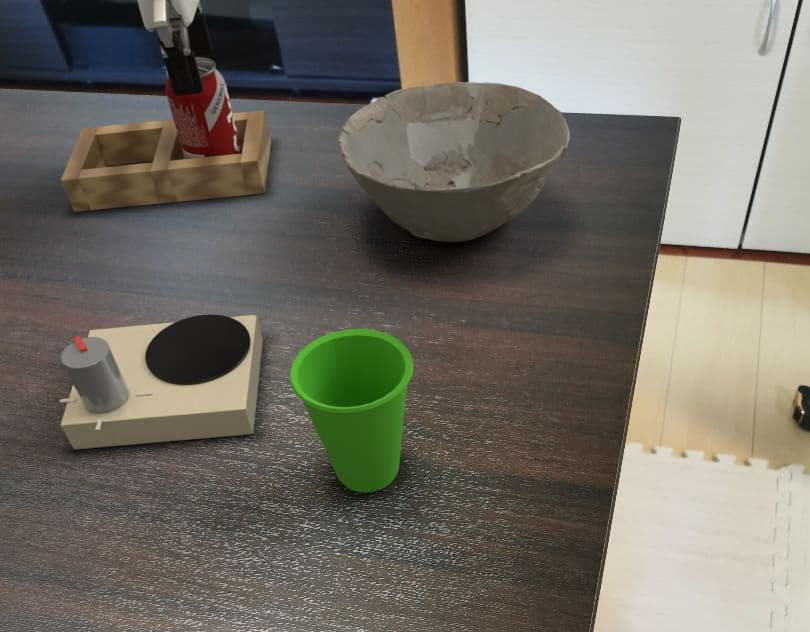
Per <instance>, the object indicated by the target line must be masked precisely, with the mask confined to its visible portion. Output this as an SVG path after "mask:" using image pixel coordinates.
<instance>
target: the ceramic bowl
mask: <svg viewBox="0 0 810 632" xmlns="http://www.w3.org/2000/svg"><path fill="white" fill-rule="evenodd" d="M570 134H571V133H570V128H569V125H568V123H567V121H566V119H565V116H564V115H563V113H562V112H561V111H560V110H559V109H558V108H557V107H555V106H554V105H553V104H552V103H551V102H549V101H548V100H546V99H545V98H544V97H542V96H541V95H539V94H537V93H535V92H532V91H530V90H528V89H525V88H522V87H519V86H515V85H509V84H505V83H499V82H477V81H476V82H475V81H472V82H471V81H468V82H463V81H452V82H441V83H435V84H434V83H433V84H425V85H424V86H422V85H421V86H414V87H413V86H410V87H408V88H401V89H397V90H393V91H392V92H390V93H387V94H385V95H384V96H380V97H378V98H377V99H376V100H374V101H372V102H371V103H369V104H366V105H365V106H362V107H361V108H360V109H358V110H356V111H355V112H354V113H353V114H352V115H350V116H349V117H348V119H346V120H345V122H344V123H343V126H342V128H341V131H340V132H339V133H338V142H337V143H338V149H339V152H340V155H341V156H342V160H343V161H344V162H345V164H346V167H347V168H348V170H349V172H350V173H351V174H352V176H353V177H354V179H355V180H356V182H357V183H358V184H359V186H360V187H361V188H362V189H363V191H364V192H365V194H366V195H367V196H368V197H369V198H370V200H372V201H373V202H374V203H375V204H376V205H377V206H378V207H379V208H380V210H382V211H383V214H385V215H386V216H387V217H388V218H389V219H390V220H391V221H393V222H394V223H395V224H396V225H398V226H400V227H401V228H403V229H405V230H407V231H408V232H410V234H412V235H413V236H415V237H418V238H421V239H425V240H426V239H427V240H430V241H436V242H446V243H460V242H469V241H472V240H475V239H477V238H480V237H483V236H485V235H487V234H488V233H491V232H492V231H494V230H496V229H497V228H499V227H501V226H502V225H504V224H505V223H507V222H509V221H511V220H512V219H514V218H516V217H518V216H519V215H520V214H521V213H523V212H524V211H525V210H526V209H527V208H528V207H529V205H531V204H532V202H533V201H534V200H535V199H536V198H537V197H538V195H539V193H540V191H541V190H542V188H543V187H544V186H545V184H546V183H547V182H548V180H549V179H550V177H551V176H552V174H553V172H554V171H555V169H556V167H557V166H558V164H559V162H560V161H561V160H562V158H563V156H564V155H565V153H566V151H567V150H568V146H569V144H570V136H571V135H570Z"/></svg>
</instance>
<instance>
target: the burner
mask: <svg viewBox="0 0 810 632" xmlns="http://www.w3.org/2000/svg"><path fill="white" fill-rule="evenodd" d="M230 317H231V316H227V315H223V314H198V315H194V316H189V317H185V318H182V319H179V320H177V321H174V322H175V323H173V324H171V325H169V326H168V327H166V328H164V329H163V330H162V331H160V332H159V333H158V334H157V335H156V336H155V337H154V338H153V339H152V341H151V342H150V343H149V345H148V347H147V350H146V354H145V361H146V364H147V367H148V369H149V371H150V372H151V373H152V374H153V375H154V376H155V377H157V378H158V379H160V380H162V381H164V382H167V383H171V384H177V385H194V384H201V383H206V382H209V381H212V380H215V379H218V378H220V377H222V376H224V375H226V374H228V373H229V372H231V371H232V370H234V369H235V368H236V367H238V366H239V365H240V364H241V363H242V362H243V360H244V359H245V358H246V356H247V354H248V352H249V350H250V346H251V339H250V335H249V332H248V330H247V329H246V327H245V326H244V325H243V324H242V323H240V322H239V321H237V320H235V319H233V318H230Z"/></svg>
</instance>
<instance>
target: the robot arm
mask: <svg viewBox="0 0 810 632" xmlns="http://www.w3.org/2000/svg"><path fill="white" fill-rule="evenodd" d="M136 1H137V5H138V8H139V11H140V16H141V20H142V22H143V26H144V28H145V29H146V30H147V31H148V32H154V31H156V33H157V35H158V37H159V38H158V39H157V40H158V44H159V46H160V52H161V55H162V59H163V62H164V66H165V69H166V70H167V72H168V76H169V79H170V82H171V86H172V89H173V92H174V94H175V95H176V96H181V95H189V94H198V93H202V92H203V84H202V80H201V77H200V73H199V69H198V66H197V62H196V58H195V57H202V56H207V55H208V56H209V55H212V54H213V51H214V49H213V45H212V41H211V36H210V33H209V30H208V29H209V28H208V25H207V21H206V18H205V13H203V8H202V7H203V6H202V3H201V1H200V0H136ZM177 32H178V34H177Z"/></svg>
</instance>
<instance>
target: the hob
mask: <svg viewBox="0 0 810 632" xmlns="http://www.w3.org/2000/svg"><path fill="white" fill-rule="evenodd" d="M229 317H230V318H233V319H235V320H237V321H239V322H240V323H242V324H243V325H244V326H245V327H246V329H247V330H248V332H249V335H250V339H251V346H250V350H249V352H248V354H247V356H246V358H245V359H244V360H243V362H242V363H241V364H240V365H239V366H238V367H236V368H235V369H234V370H232V371H231V372H229V373H228V374H226V375H224V376H222V377H220V378H218V379H215V380H212V381H209V382H206V383H201V384H194V385H177V384H171V383H167V382H164V381H162V380H160V379H158V378H157V377H155V376H154V375H153V374H152V373H151V372H150V371H149V369H148V367H147V364H146V361H145V354H146V350H147V347H148V345H149V343H150V342H151V341H152V339H153V338H154V337H155V336H156V335H157V334H158V333H159V332H160V331H162V330H163V329H164V328H166V327H168V326H169V325H171V324H173V323H175V322H176V321H174V322H172V321H171V322H162V323H152V324H141V325H130V326H120V327H119V326H118V327H107V328H97V329H90V330H89V332H88V335H87V337H99V338H102V339H104V340H105V341H107V343H108V344H109V346H110V349H111V351H112V353H113V355H114V358H115V360H116V362H117V364H118V367H119V369H120V371H121V373H122V376H123V378H124V380H125V382H126V385H127V387H128V389H129V396H128V398H127V400H126V401H125V402H124V404H122V405H121V406H120V407H118V408H117V409H114V410H112V411H109V412H105V413H95V412H91V411H89V410H87V409H86V408H85V406H84V404H83V403H82V401H81V399H80V397H79V395H78V393H77V391H76V389H75V387H74V385H73V384H72V387H71V390H70V393H69V396H68V398H60V399H59V403H60V404H66V405H65V409H64V412H63V416H62V419H61V422H60V427H61V429H62V431H63V433H64V434H65V436H66V438H67V440H68V442H69V444H70V445H71V447H72V448H73V450H84V449H85V450H86V449H94V448H109V447H120V446H129V445H142V444H154V443H165V442H177V441H187V440H188V441H189V440H190V441H191V440H200V439H210V438H211V439H212V438H224V437H234V436H235V437H237V436H246V435H247V436H248V435H253V434H254V432H255V431H254V430H255V420H256V411H257V400H258V391H259V382H260V371H261V362H262V352H263V343H264V338H263V335H262V331H261V327H260V323H259V319H258V316H257V314H250V315H239V316H238V315H237V316H229Z"/></svg>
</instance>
